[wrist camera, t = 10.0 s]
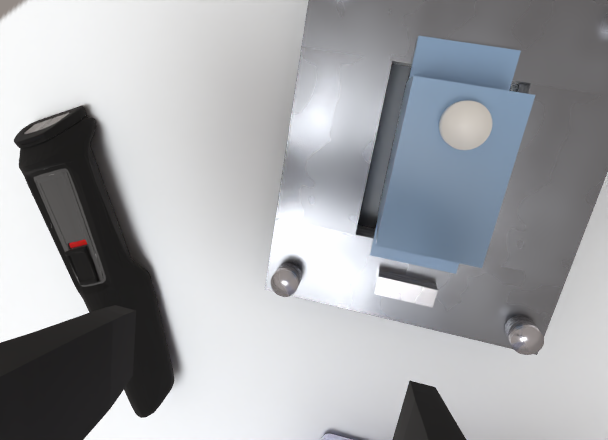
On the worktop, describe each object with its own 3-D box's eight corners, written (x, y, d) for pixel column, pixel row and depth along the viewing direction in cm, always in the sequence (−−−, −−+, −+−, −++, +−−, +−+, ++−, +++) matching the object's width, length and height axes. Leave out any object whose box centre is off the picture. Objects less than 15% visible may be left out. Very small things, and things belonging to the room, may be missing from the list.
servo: (449, 256, 19) (472, 317, 14) (371, 240, 20) (365, 292, 14) (505, 55, 17) (560, 36, 11) (415, 42, 17) (427, 17, 12)
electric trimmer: (141, 384, 25) (108, 424, 22) (33, 122, 22) (-24, 127, 19) (198, 377, 24) (172, 417, 21) (95, 102, 21) (47, 104, 18)
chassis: (526, 335, 20) (545, 368, 17) (273, 276, 21) (258, 299, 19) (650, -1, 15) (699, -19, 13) (323, -44, 17) (312, -68, 15)
